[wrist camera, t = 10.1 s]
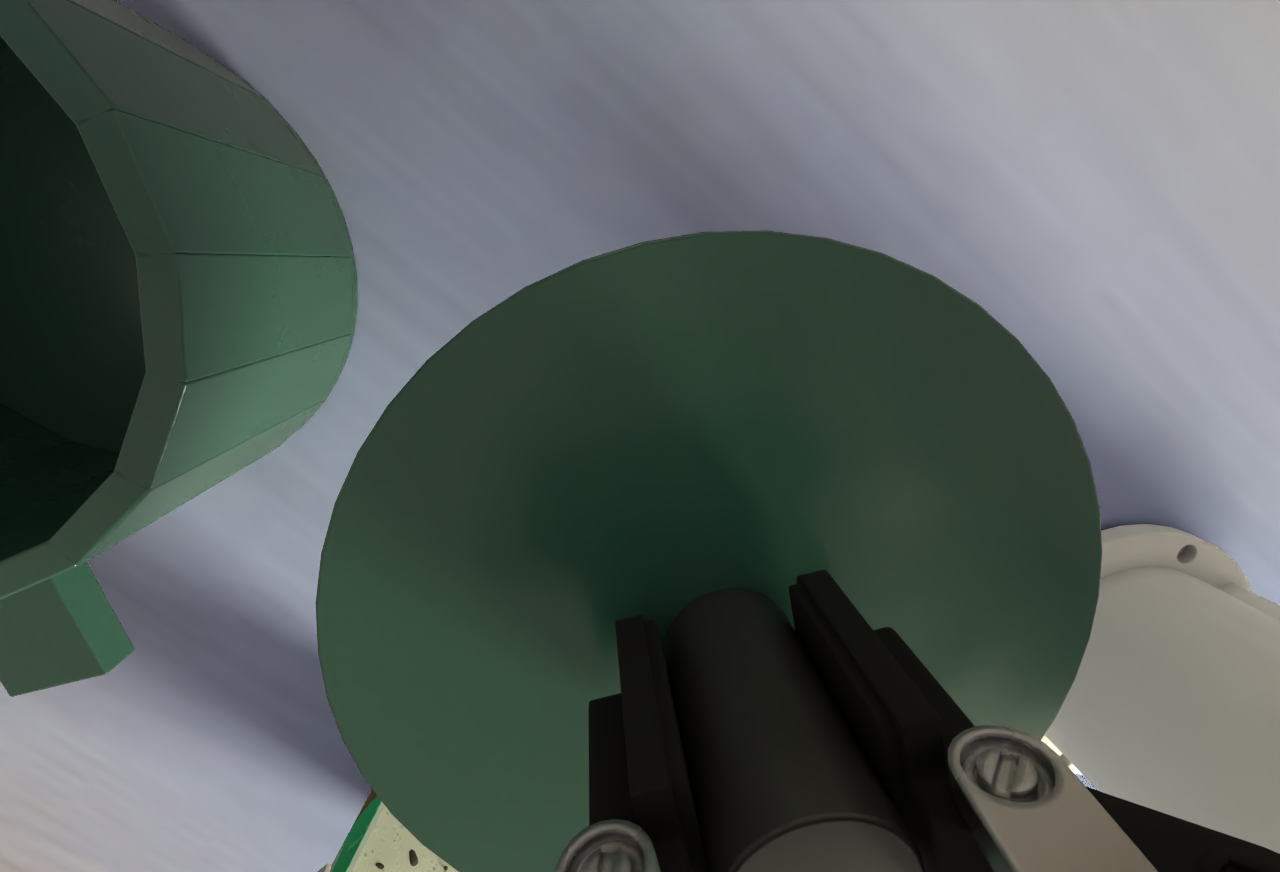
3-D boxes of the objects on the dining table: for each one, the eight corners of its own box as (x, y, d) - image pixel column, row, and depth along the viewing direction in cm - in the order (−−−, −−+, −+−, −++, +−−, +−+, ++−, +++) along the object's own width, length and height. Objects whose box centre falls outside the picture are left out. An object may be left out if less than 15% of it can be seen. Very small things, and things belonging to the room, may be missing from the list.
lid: (1054, 146, 11) (1603, 13, 5) (1063, 795, 16) (1357, 1123, 10) (207, 344, 11) (-266, 449, 5) (472, 946, 15) (400, 1381, 9)
